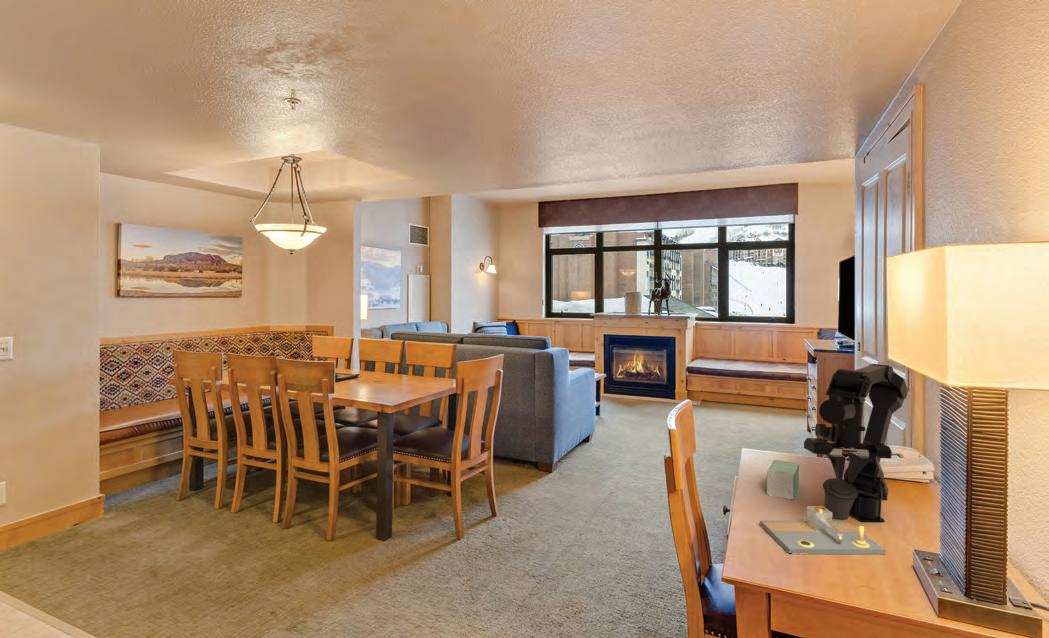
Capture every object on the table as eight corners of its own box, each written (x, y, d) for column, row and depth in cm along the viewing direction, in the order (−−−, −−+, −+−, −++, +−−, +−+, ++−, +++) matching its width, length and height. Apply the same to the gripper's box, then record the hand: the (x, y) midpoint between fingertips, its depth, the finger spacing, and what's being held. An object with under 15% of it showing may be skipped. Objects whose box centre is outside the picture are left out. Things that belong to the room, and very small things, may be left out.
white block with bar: (822, 523, 134) (823, 505, 134) (849, 544, 123) (850, 524, 123) (806, 523, 134) (807, 504, 134) (832, 544, 123) (833, 524, 123)
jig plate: (844, 525, 136) (845, 504, 136) (884, 554, 121) (886, 531, 121) (759, 524, 136) (760, 504, 136) (789, 554, 121) (790, 531, 121)
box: (799, 486, 163) (799, 462, 163) (793, 500, 152) (794, 475, 152) (773, 481, 167) (773, 458, 167) (766, 495, 156) (766, 470, 156)
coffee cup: (812, 511, 144) (816, 482, 140) (831, 499, 147) (836, 471, 143) (840, 530, 137) (845, 501, 133) (860, 518, 140) (866, 488, 136)
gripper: (866, 415, 139) (862, 474, 140) (795, 411, 140) (791, 469, 140) (895, 425, 128) (890, 488, 129) (817, 420, 129) (813, 483, 129)
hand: (844, 482), depth 132 cm, fingers closed
